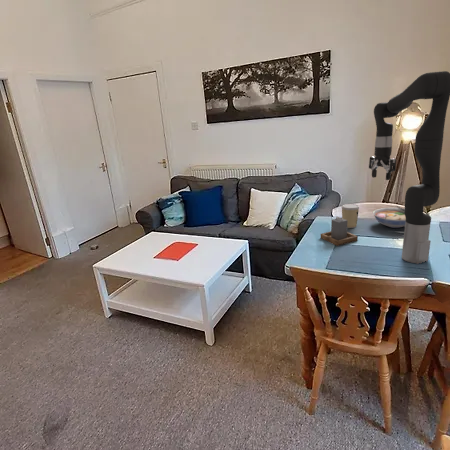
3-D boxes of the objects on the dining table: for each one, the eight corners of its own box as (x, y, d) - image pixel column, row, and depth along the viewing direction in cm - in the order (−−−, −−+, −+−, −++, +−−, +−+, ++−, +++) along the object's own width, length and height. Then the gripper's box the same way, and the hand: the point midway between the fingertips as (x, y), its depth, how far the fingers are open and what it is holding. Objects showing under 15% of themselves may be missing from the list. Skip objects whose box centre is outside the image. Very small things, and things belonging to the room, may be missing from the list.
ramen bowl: (364, 220, 192) (365, 207, 190) (403, 217, 191) (405, 204, 188) (382, 235, 169) (384, 220, 166) (427, 232, 168) (429, 217, 165)
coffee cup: (360, 227, 181) (361, 207, 178) (343, 228, 182) (344, 208, 178) (354, 222, 190) (355, 203, 186) (338, 223, 191) (339, 204, 187)
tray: (357, 240, 165) (357, 236, 164) (337, 246, 160) (337, 241, 160) (339, 233, 176) (340, 229, 175) (320, 238, 172) (320, 233, 171)
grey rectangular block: (346, 238, 167) (347, 217, 163) (338, 240, 165) (339, 219, 161) (339, 235, 171) (340, 215, 168) (331, 237, 170) (331, 217, 166)
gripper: (366, 145, 161) (364, 177, 166) (389, 147, 148) (386, 181, 153) (377, 144, 163) (375, 175, 169) (401, 145, 151) (398, 179, 156)
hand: (380, 178), depth 161 cm, fingers open, 8 cm apart
